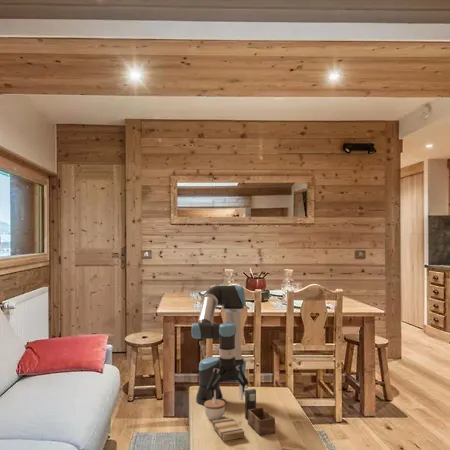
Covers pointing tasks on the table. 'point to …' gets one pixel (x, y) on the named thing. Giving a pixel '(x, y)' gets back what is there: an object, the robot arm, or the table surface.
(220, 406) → the lidded jar
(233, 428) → the lid
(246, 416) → the keeper
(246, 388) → the bolt
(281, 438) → the table surface
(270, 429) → the open wooden box
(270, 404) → the table surface
